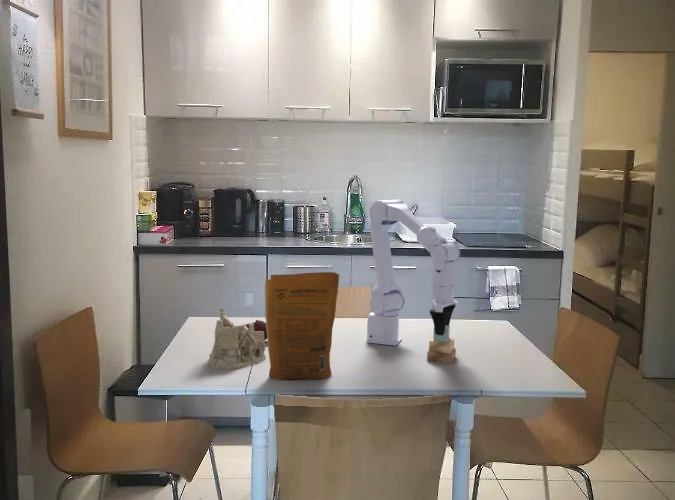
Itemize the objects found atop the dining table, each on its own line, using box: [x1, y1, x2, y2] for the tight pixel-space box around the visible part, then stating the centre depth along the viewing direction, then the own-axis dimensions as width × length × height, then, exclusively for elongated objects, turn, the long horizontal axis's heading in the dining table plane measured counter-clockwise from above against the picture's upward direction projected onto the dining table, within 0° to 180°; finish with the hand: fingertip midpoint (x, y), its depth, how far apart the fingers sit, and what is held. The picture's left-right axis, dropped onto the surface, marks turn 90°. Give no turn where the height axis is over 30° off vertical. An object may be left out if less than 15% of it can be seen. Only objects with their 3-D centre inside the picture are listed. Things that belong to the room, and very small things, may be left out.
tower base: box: [426, 347, 457, 365], centre depth 197 cm, size 7×7×3 cm
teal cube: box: [432, 324, 451, 342], centre depth 196 cm, size 4×4×4 cm
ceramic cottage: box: [208, 306, 267, 371], centre depth 191 cm, size 16×16×15 cm
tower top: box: [428, 337, 455, 354], centre depth 197 cm, size 6×6×3 cm
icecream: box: [240, 319, 268, 341], centre depth 211 cm, size 7×8×15 cm
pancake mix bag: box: [264, 271, 340, 381], centre depth 176 cm, size 7×19×28 cm, turn 97°
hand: (442, 331), depth 196 cm, fingers open, 7 cm apart
